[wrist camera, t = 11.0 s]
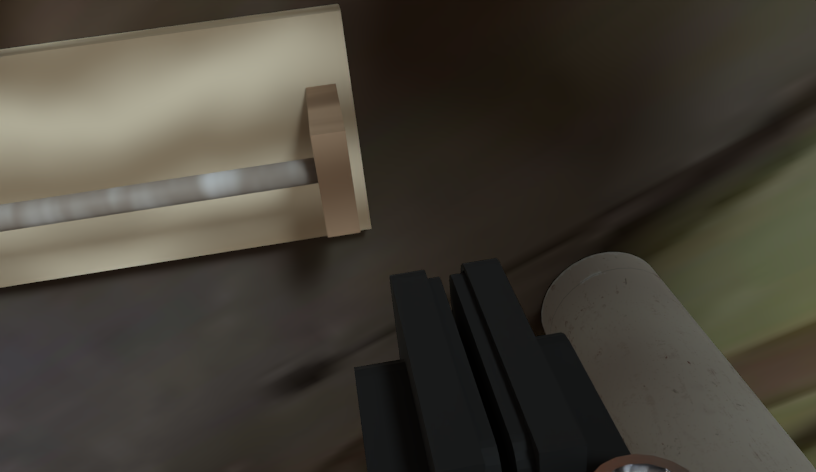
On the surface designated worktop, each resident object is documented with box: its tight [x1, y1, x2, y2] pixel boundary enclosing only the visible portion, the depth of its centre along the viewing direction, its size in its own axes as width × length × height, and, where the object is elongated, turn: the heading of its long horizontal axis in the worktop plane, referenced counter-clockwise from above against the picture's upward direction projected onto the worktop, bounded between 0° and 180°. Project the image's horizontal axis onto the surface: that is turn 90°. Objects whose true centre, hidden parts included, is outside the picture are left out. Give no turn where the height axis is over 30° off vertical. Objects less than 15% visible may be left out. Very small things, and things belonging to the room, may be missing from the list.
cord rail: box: [0, 4, 371, 288], centre depth 35 cm, size 12×34×8 cm, turn 96°
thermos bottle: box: [541, 252, 816, 472], centre depth 37 cm, size 8×8×28 cm
